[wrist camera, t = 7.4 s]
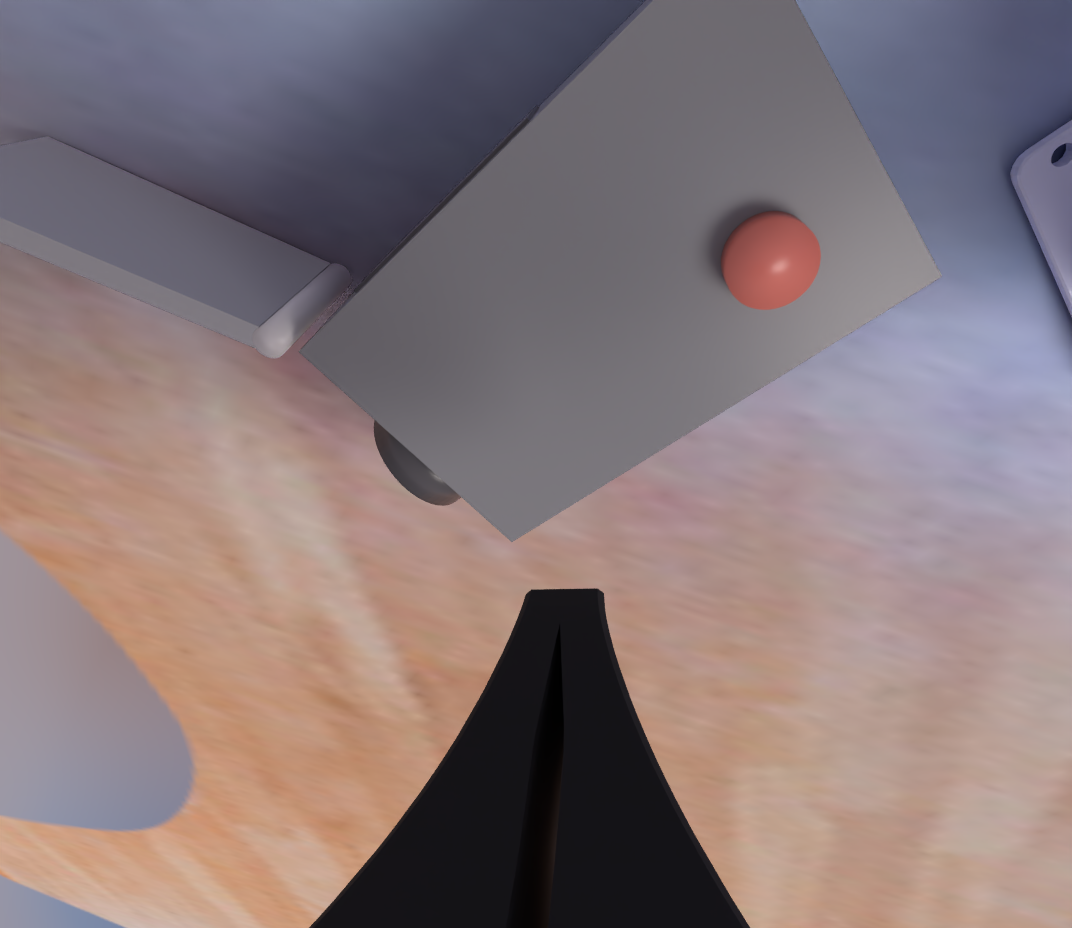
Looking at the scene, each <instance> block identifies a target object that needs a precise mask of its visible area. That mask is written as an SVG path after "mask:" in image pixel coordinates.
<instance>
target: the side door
mask: <svg viewBox="0 0 1072 928" xmlns="http://www.w3.org/2000/svg"><path fill="white" fill-rule="evenodd" d="M0 242H1V243H3V244H5V245H8V246H10V247H13V248H15V249H17V250H20V251H22V252H25V253H27V254H29V255H32V256H34V257H37V258H39V259H41V260H44V261H46V262H49V263H51V264H53V265H56V266H58V267H61V268H63V269H66V270H68V271H70V272H73V273H75V274H78V275H80V276H82V277H85V278H87V279H90V280H92V281H94V282H97V283H99V284H102V285H104V286H106V287H109V288H111V289H114V290H116V291H118V292H121V293H123V294H126V295H128V296H130V297H133V298H135V299H138V300H140V301H142V302H145V303H147V304H150V305H152V306H154V307H157V308H159V309H162V310H164V311H166V312H169V313H171V314H174V315H176V316H179V317H181V318H183V319H186V320H188V321H191V322H193V323H195V324H198V325H200V326H203V327H205V328H207V329H210V330H212V331H215V332H217V333H219V334H222V335H224V336H227V337H229V338H231V339H234V340H236V341H239V342H241V343H243V344H246V345H248V346H251V347H253V348H256V349H257V351H258V352H259V353H261V354H262V355H264V356H266V357H268V358H279V357H281V356H282V355H283V354H284V353H285V352H286V351H287V350H288V349H289V348H290V347H291V346H292V345H293V344H294V343H295V342H296V341H297V340H298V339H299V338H300V337H301V335H302V334H303V333H304V332H305V331H306V330H307V329H308V328H309V327H310V326H311V325H312V324H313V323H314V322H315V321H316V320H317V319H318V318H319V317H320V316H321V315H322V314H323V313H324V312H325V311H326V310H327V308H328V307H329V306H330V305H331V304H332V303H333V302H334V301H335V300H336V299H337V298H338V297H339V296H340V295H341V294H342V293H343V292H344V291H345V290H346V289H347V288H348V287H349V285H350V283H351V275H350V273H349V271H348V270H347V268H346V267H344V266H343V265H341V264H338V263H333V264H331V263H329V262H327V261H324V260H322V259H320V258H318V257H316V256H313V255H311V254H309V253H307V252H304V251H302V250H300V249H298V248H295V247H293V246H291V245H289V244H287V243H284V242H282V241H280V240H278V239H275V238H273V237H271V236H269V235H267V234H264V233H262V232H260V231H258V230H255V229H253V228H251V227H249V226H247V225H244V224H242V223H240V222H238V221H235V220H233V219H231V218H229V217H227V216H224V215H222V214H220V213H218V212H215V211H213V210H211V209H209V208H206V207H204V206H202V205H200V204H198V203H195V202H193V201H191V200H189V199H186V198H184V197H182V196H180V195H178V194H175V193H173V192H171V191H169V190H166V189H164V188H162V187H160V186H158V185H155V184H153V183H151V182H149V181H146V180H144V179H142V178H140V177H138V176H135V175H133V174H131V173H129V172H126V171H124V170H122V169H120V168H117V167H115V166H113V165H111V164H109V163H106V162H104V161H102V160H100V159H97V158H95V157H93V156H91V155H89V154H86V153H84V152H82V151H80V150H77V149H75V148H73V147H71V146H69V145H66V144H64V143H62V142H60V141H57V140H55V139H53V138H51V137H49V136H47V137H41V138H36V139H31V140H26V141H21V142H16V143H11V144H6V145H1V146H0Z"/></svg>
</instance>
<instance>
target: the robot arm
mask: <svg viewBox="0 0 1072 928" xmlns="http://www.w3.org/2000/svg"><path fill="white" fill-rule="evenodd" d="M1063 144H1066V151H1065V153H1064V155H1063V157H1062V158H1061V159H1059V160H1058V161H1057V162H1055V163H1051V156H1052V154H1053V152H1054V151H1055V150H1056V149H1057V148H1058V147H1059V146H1060V145H1063ZM1010 174H1011V181H1012V183H1013V185H1014V188H1015V190H1016V192H1017V194H1018V197H1019V199H1020V201H1021V204H1022V206H1023V208H1024V210H1025V213H1026V215H1027V217H1028V219H1029V222H1030V224H1031V226H1032V228H1033V231H1034V233H1035V235H1036V237H1037V240H1038V242H1039V244H1040V246H1041V249H1042V251H1043V253H1044V256H1045V258H1046V260H1047V262H1048V265H1049V267H1050V269H1051V271H1052V274H1053V276H1054V278H1055V280H1056V283H1057V285H1058V287H1059V289H1060V292H1061V294H1062V296H1063V298H1064V301H1065V303H1066V305H1067V308H1068V310H1069V312H1070V314H1071V317H1072V120H1071V121H1069V122H1068V123H1066V124H1065V125H1063V126H1062V127H1060V128H1059V129H1057V130H1055V131H1054V132H1052V133H1051V134H1049V135H1048V136H1046V137H1045V138H1043V139H1042V140H1040V141H1039V142H1037V143H1036V144H1034V145H1033V146H1031V147H1030V148H1028V149H1027V150H1025V151H1024V152H1023V153H1022V154H1021V155H1020V156H1019V157H1018V158H1017V159H1016V161H1015V162H1014V164H1013V166H1012V169H1011V173H1010ZM309 928H750V927H749V925H748V924H747V922H746V920H745V919H744V917H743V916H742V914H741V912H740V911H739V909H738V908H737V906H736V904H735V903H734V901H733V900H732V898H731V896H730V895H729V893H728V891H727V890H726V888H725V886H724V884H723V883H722V881H721V879H720V878H719V876H718V874H717V872H716V871H715V869H714V867H713V865H712V864H711V862H710V860H709V859H708V857H707V855H706V853H705V852H704V850H703V848H702V847H701V845H700V843H699V841H698V840H697V838H696V836H695V834H694V833H693V831H692V829H691V827H690V825H689V823H688V821H687V819H686V818H685V816H684V814H683V812H682V810H681V808H680V806H679V804H678V802H677V801H676V799H675V797H674V795H673V793H672V791H671V789H670V787H669V785H668V783H667V781H666V779H665V777H664V775H663V772H662V770H661V768H660V766H659V764H658V762H657V760H656V758H655V755H654V753H653V751H652V749H651V747H650V744H649V742H648V740H647V737H646V735H645V733H644V730H643V728H642V726H641V723H640V721H639V719H638V716H637V714H636V711H635V709H634V706H633V704H632V701H631V699H630V696H629V693H628V690H627V687H626V684H625V682H624V679H623V676H622V673H621V670H620V668H619V664H618V661H617V658H616V655H615V651H614V648H613V644H612V640H611V637H610V633H609V628H608V624H607V619H606V613H605V603H604V593H603V592H602V591H600V590H599V589H544V590H531V591H529V592H528V593H527V594H526V596H525V599H524V602H523V605H522V608H521V611H520V613H519V616H518V619H517V621H516V624H515V626H514V628H513V631H512V633H511V635H510V638H509V640H508V642H507V644H506V646H505V649H504V651H503V653H502V655H501V657H500V659H499V661H498V663H497V665H496V667H495V669H494V671H493V673H492V675H491V677H490V679H489V681H488V683H487V685H486V687H485V689H484V691H483V693H482V694H481V696H480V698H479V700H478V702H477V703H476V705H475V707H474V708H473V710H472V712H471V714H470V715H469V717H468V719H467V721H466V722H465V724H464V726H463V728H462V729H461V731H460V733H459V734H458V736H457V738H456V739H455V741H454V743H453V744H452V746H451V747H450V749H449V750H448V752H447V754H446V755H445V757H444V758H443V760H442V761H441V763H440V764H439V766H438V767H437V769H436V770H435V772H434V773H433V775H432V776H431V778H430V779H429V781H428V782H427V784H426V785H425V786H424V788H423V789H422V791H421V792H420V793H419V795H418V796H417V798H416V799H415V800H414V802H413V803H412V804H411V806H410V807H409V808H408V810H407V811H406V812H405V814H404V815H403V817H402V818H401V819H400V821H399V822H398V823H397V825H396V826H395V827H394V829H393V830H392V831H391V832H390V834H389V835H388V836H387V838H386V839H385V840H384V841H383V843H382V844H381V845H380V846H379V848H378V849H377V850H376V851H375V853H374V854H373V855H372V856H371V857H370V858H369V860H368V861H367V862H366V863H365V864H364V866H363V867H362V868H361V869H360V870H359V871H358V873H357V874H356V875H355V876H354V877H353V879H352V880H351V881H350V882H349V883H348V885H347V886H346V887H345V888H344V889H343V890H342V892H341V893H340V894H339V895H338V896H337V898H336V899H335V900H334V901H333V902H332V903H331V904H330V906H329V907H328V908H327V909H326V910H325V911H324V912H323V913H322V914H321V916H320V917H319V918H318V919H317V920H316V921H315V922H314V923H313V924H312V925H311V926H310V927H309Z"/></svg>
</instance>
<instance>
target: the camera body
mask: <svg viewBox="0 0 1072 928" xmlns="http://www.w3.org/2000/svg"><path fill="white" fill-rule="evenodd" d="M941 277H942V275H941V273H940V271H939V269H938V268H937V266H936V264H935V262H934V260H933V258H932V256H931V254H930V253H929V251H928V249H927V247H926V245H925V243H924V241H923V239H922V238H921V236H920V234H919V232H918V230H917V228H916V226H915V224H914V223H913V221H912V219H911V217H910V215H909V213H908V211H907V209H906V208H905V206H904V204H903V202H902V200H901V198H900V196H899V194H898V192H897V191H896V189H895V187H894V185H893V183H892V181H891V179H890V177H889V176H888V174H887V172H886V170H885V168H884V166H883V164H882V162H881V161H880V159H879V157H878V155H877V153H876V151H875V149H874V147H873V146H872V144H871V142H870V140H869V138H868V136H867V134H866V132H865V130H864V129H863V127H862V125H861V123H860V121H859V119H858V117H857V115H856V114H855V112H854V110H853V108H852V106H851V104H850V102H849V100H848V99H847V97H846V95H845V93H844V91H843V89H842V87H841V85H840V84H839V82H838V80H837V78H836V76H835V74H834V72H833V70H832V69H831V67H830V65H829V63H828V61H827V59H826V57H825V55H824V53H823V52H822V50H821V48H820V46H819V44H818V42H817V40H816V38H815V37H814V35H813V33H812V31H811V29H810V27H809V25H808V23H807V22H806V20H805V18H804V16H803V14H802V12H801V10H800V8H799V7H798V5H797V3H796V1H795V0H645V1H644V2H643V3H642V4H641V5H640V6H639V7H638V8H637V9H636V10H635V11H634V12H633V13H632V14H631V15H630V16H629V17H628V18H627V19H626V20H625V21H624V22H623V23H622V24H621V25H620V26H619V27H618V28H617V29H616V30H615V31H614V32H613V33H612V34H611V35H610V36H609V37H608V38H607V39H606V40H605V41H604V42H603V43H602V44H601V45H600V46H599V47H598V48H597V49H596V50H595V51H594V52H593V53H592V54H591V55H590V56H589V57H588V58H587V59H586V60H585V61H584V62H583V63H582V64H581V65H580V66H579V67H578V68H577V69H576V70H575V71H574V72H573V73H572V74H571V75H570V76H569V77H568V78H567V79H566V80H565V81H564V82H563V83H562V84H561V85H560V86H559V87H558V88H557V89H556V90H555V91H554V92H553V93H552V94H551V95H550V96H549V97H548V98H547V99H546V100H545V101H544V102H543V103H542V104H541V105H540V106H538V105H537V106H536V107H535V108H534V109H533V110H532V111H531V112H530V113H529V114H528V115H527V116H526V117H525V118H524V119H523V120H522V121H521V122H520V123H519V124H518V125H517V126H516V127H515V128H514V129H513V130H512V131H511V132H510V133H509V134H508V135H507V136H506V137H505V138H504V139H503V140H502V141H501V142H500V143H499V144H498V145H497V146H496V147H495V148H494V149H493V150H492V151H491V152H490V153H489V154H488V155H487V156H486V157H485V158H484V159H483V160H482V161H481V162H480V163H479V164H478V165H477V166H476V167H475V168H474V169H473V170H472V171H471V172H470V173H469V174H468V175H467V176H466V177H465V178H464V179H463V180H462V181H461V182H460V183H459V184H458V185H457V186H456V187H455V188H454V189H453V190H452V191H451V192H450V193H449V194H448V195H447V196H446V197H445V198H444V199H443V200H442V201H441V202H440V203H439V204H438V205H437V206H436V207H435V208H434V209H433V210H432V211H431V212H430V213H429V214H428V215H427V216H426V217H425V218H424V219H423V220H422V221H421V222H420V223H419V224H418V225H417V226H416V227H415V228H414V229H413V230H412V231H411V232H410V233H409V234H408V235H407V236H406V237H405V238H404V239H403V240H402V241H401V242H400V243H399V244H398V245H397V246H396V247H395V248H394V249H393V250H392V251H391V252H390V253H389V254H388V255H387V256H386V257H385V258H384V259H383V260H382V261H381V262H380V263H379V264H378V265H377V266H376V267H375V268H374V269H373V270H372V271H371V273H370V274H369V275H368V276H367V277H366V278H365V279H364V280H363V281H362V282H361V283H360V284H359V285H358V287H357V288H356V289H355V290H354V292H353V293H352V294H351V296H350V297H349V298H348V299H347V300H346V301H345V302H344V303H343V304H342V305H341V306H340V307H339V309H338V310H337V311H336V312H335V313H334V314H333V315H332V316H331V317H330V318H329V319H328V320H327V322H326V323H325V324H324V325H323V326H322V327H321V328H320V329H319V330H318V331H317V332H316V333H315V335H314V336H313V337H312V338H311V339H310V340H309V341H308V342H307V343H306V344H305V345H304V346H303V348H302V349H301V350H300V351H299V353H300V354H302V355H303V356H304V357H305V358H306V359H307V360H308V361H309V362H311V363H312V364H313V365H314V366H315V367H316V368H317V369H318V370H320V371H321V372H322V373H323V374H324V375H325V376H326V377H327V378H329V379H330V380H331V381H332V382H333V383H334V384H335V385H336V386H337V387H339V388H340V389H341V390H342V391H343V392H344V393H345V394H346V395H348V396H349V397H350V398H351V399H352V400H353V401H354V402H355V403H357V404H358V405H359V406H360V407H361V408H362V409H363V410H364V411H365V412H367V413H368V414H369V415H370V416H371V417H372V418H373V419H374V420H375V422H374V436H375V441H376V445H377V448H378V450H379V453H380V455H381V457H382V459H383V461H384V463H385V464H386V466H387V467H388V469H389V470H390V472H391V473H392V474H393V476H394V477H395V478H396V479H397V480H398V481H399V482H400V483H401V484H402V485H403V486H404V487H405V488H406V489H407V490H408V491H410V492H411V493H412V494H413V495H415V496H416V497H418V498H420V499H422V500H424V501H426V502H428V503H431V504H435V505H442V506H443V505H449V504H452V503H454V502H456V501H457V500H458V499H460V498H461V497H462V498H463V499H464V500H465V501H466V502H467V503H469V504H470V505H471V506H472V507H473V508H474V509H475V510H476V511H478V512H479V513H480V514H481V515H482V516H483V517H484V518H485V519H486V520H488V521H489V522H490V523H491V524H492V525H493V526H494V527H495V528H497V529H498V530H499V531H500V532H501V533H502V534H503V535H504V536H506V537H507V538H508V539H509V540H510V541H511V542H513V541H514V540H516V539H518V538H519V537H521V536H523V535H524V534H526V533H527V532H529V531H531V530H532V529H534V528H536V527H537V526H539V525H540V524H542V523H544V522H545V521H547V520H549V519H550V518H552V517H553V516H555V515H557V514H558V513H560V512H561V511H563V510H565V509H566V508H568V507H570V506H571V505H573V504H574V503H576V502H578V501H579V500H581V499H583V498H584V497H586V496H587V495H589V494H591V493H592V492H594V491H595V490H597V489H599V488H600V487H602V486H604V485H605V484H607V483H608V482H610V481H612V480H613V479H615V478H617V477H618V476H620V475H621V474H623V473H625V472H626V471H628V470H630V469H631V468H633V467H634V466H636V465H638V464H639V463H641V462H642V461H644V460H646V459H647V458H649V457H651V456H652V455H654V454H655V453H657V452H659V451H660V450H662V449H664V448H665V447H667V446H668V445H670V444H672V443H673V442H675V441H676V440H678V439H680V438H681V437H683V436H685V435H686V434H688V433H689V432H691V431H693V430H694V429H696V428H698V427H699V426H701V425H702V424H704V423H706V422H707V421H709V420H711V419H712V418H714V417H715V416H717V415H719V414H720V413H722V412H723V411H725V410H727V409H728V408H730V407H732V406H733V405H735V404H736V403H738V402H740V401H741V400H743V399H745V398H746V397H748V396H749V395H751V394H753V393H754V392H756V391H757V390H759V389H761V388H762V387H764V386H766V385H767V384H769V383H770V382H772V381H774V380H775V379H777V378H779V377H780V376H782V375H783V374H785V373H787V372H788V371H790V370H792V369H793V368H795V367H796V366H798V365H800V364H801V363H803V362H804V361H806V360H808V359H809V358H811V357H813V356H814V355H816V354H817V353H819V352H821V351H822V350H824V349H826V348H827V347H829V346H830V345H832V344H834V343H835V342H837V341H838V340H840V339H842V338H843V337H845V336H847V335H848V334H850V333H851V332H853V331H855V330H856V329H858V328H860V327H861V326H863V325H864V324H866V323H868V322H869V321H871V320H873V319H874V318H876V317H877V316H879V315H881V314H882V313H884V312H885V311H887V310H889V309H890V308H892V307H894V306H895V305H897V304H898V303H900V302H902V301H903V300H905V299H907V298H908V297H910V296H911V295H913V294H915V293H916V292H918V291H919V290H921V289H923V288H924V287H926V286H928V285H929V284H931V283H932V282H934V281H936V280H937V279H939V278H941Z"/></svg>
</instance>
